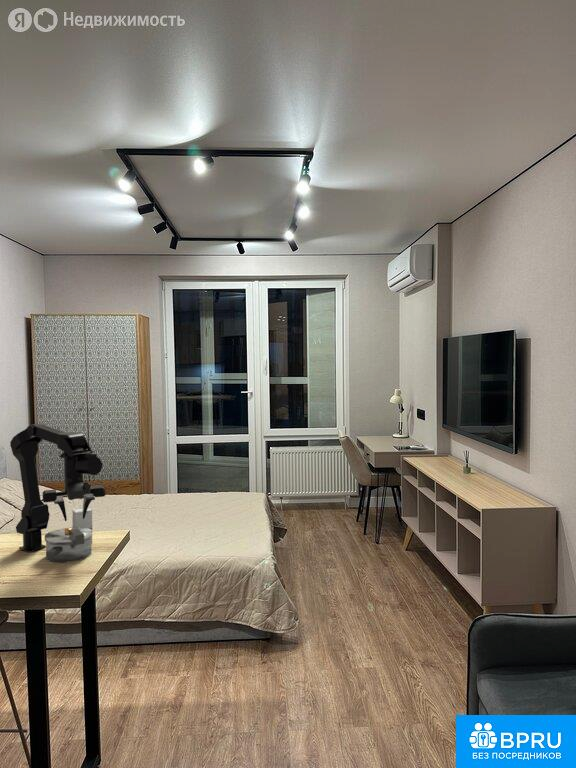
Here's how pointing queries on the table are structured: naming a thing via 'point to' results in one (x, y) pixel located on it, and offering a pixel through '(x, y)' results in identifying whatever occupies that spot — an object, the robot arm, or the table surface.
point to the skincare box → (79, 520)
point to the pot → (68, 551)
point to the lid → (69, 535)
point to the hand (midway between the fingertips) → (74, 519)
